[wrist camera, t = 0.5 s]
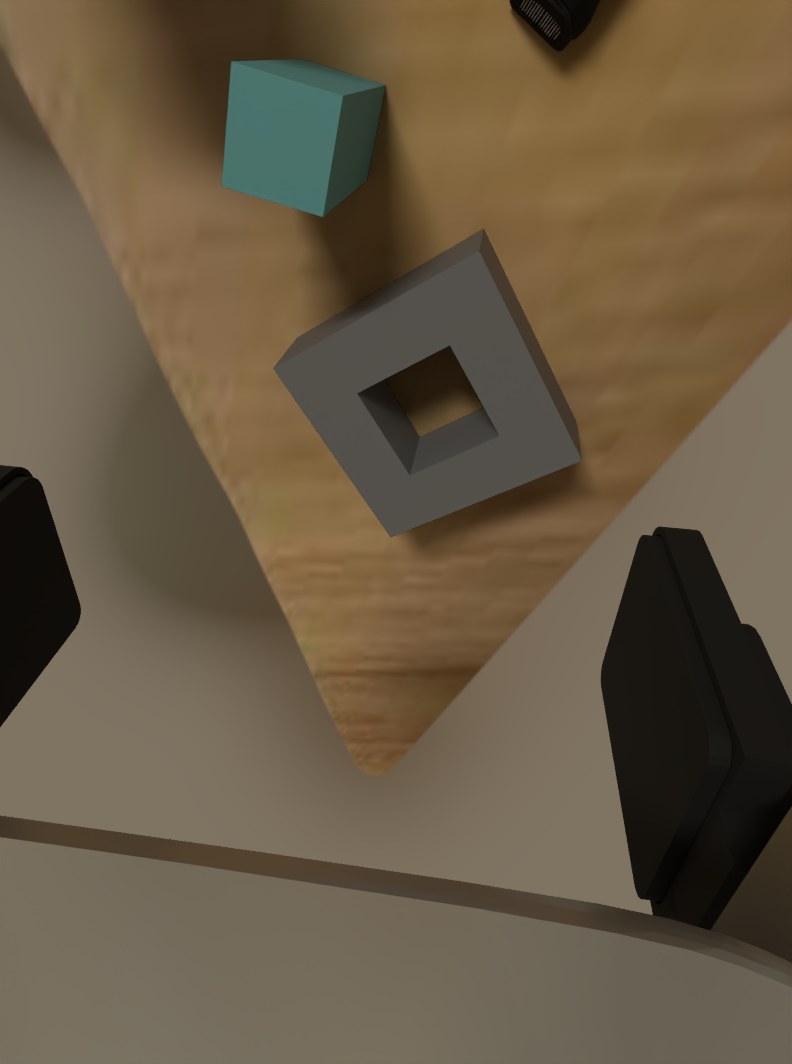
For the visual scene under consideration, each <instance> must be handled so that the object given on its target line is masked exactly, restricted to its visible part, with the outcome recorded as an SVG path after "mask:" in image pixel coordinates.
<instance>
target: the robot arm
mask: <svg viewBox="0 0 792 1064" xmlns="http://www.w3.org/2000/svg"><path fill="white" fill-rule="evenodd" d="M80 614H81V607H80V603H79V599H78V596H77V593H76V590H75V587H74V584H73V580H72V578H71V574H70V571H69V568H68V565H67V562H66V559H65V556H64V552H63V549H62V546H61V543H60V540H59V537H58V534H57V530H56V527H55V524H54V521H53V518H52V515H51V512H50V509H49V506H48V503H47V499H46V496H45V493H44V490H43V487H42V485H41V483H40V482H39V480H38V479H36V478H33V476H32V474H31V473H30V472H29V471H28V470H27V469H25V468H22V467H12V466H2V465H0V727H1V725H2V724H3V723H4V722H5V720H6V719H7V718H8V716H9V715H10V713H11V712H12V710H14V708H15V707H16V706H17V704H18V703H19V702H20V700H21V699H22V698H23V696H24V695H25V694H26V692H27V691H28V690H29V689H30V687H31V686H32V685H33V683H34V682H35V681H36V679H37V678H38V677H39V675H40V674H41V673H42V671H43V670H44V668H45V667H46V666H47V665H48V663H49V662H50V661H51V659H52V658H53V657H54V655H55V654H56V653H57V652H58V650H59V649H60V648H61V646H62V645H63V644H64V642H65V641H66V640H67V638H68V637H69V636H70V634H71V633H72V632H73V630H74V629H75V628H76V626H77V624H78V622H79V619H80ZM601 688H602V694H603V700H604V705H605V712H606V718H607V724H608V730H609V736H610V742H611V748H612V753H613V759H614V765H615V771H616V777H617V783H618V789H619V795H620V801H621V807H622V813H623V819H624V825H625V831H626V837H627V843H628V849H629V855H630V861H631V867H632V873H633V878H634V884H635V889H636V892H637V895H638V897H639V898H640V899H646V900H650V901H651V907H652V912H653V915H649V914H644V913H639V912H634V911H630V910H625V909H620V908H616V907H611V906H606V905H601V904H596V903H590V902H584V901H578V900H571V899H566V898H560V897H553V896H547V895H541V894H535V893H529V892H522V891H516V890H510V889H504V888H498V887H492V886H486V885H480V884H474V883H467V882H461V881H454V880H448V879H441V878H434V877H427V876H420V875H413V874H407V873H400V872H393V871H386V870H379V869H372V868H365V867H359V866H351V865H345V864H338V863H331V862H324V861H318V860H311V859H304V858H297V857H290V856H283V855H276V854H269V853H263V852H256V851H249V850H242V849H234V848H228V847H221V846H213V845H207V844H199V843H192V842H185V841H178V840H171V839H163V838H156V837H150V836H143V835H136V834H128V833H121V832H114V831H106V830H100V829H93V828H85V827H78V826H71V825H64V824H56V823H50V822H43V821H35V820H28V819H21V818H13V817H6V816H0V1064H792V704H791V702H790V700H789V697H788V695H787V693H786V691H785V689H784V687H783V685H782V682H781V680H780V678H779V676H778V674H777V672H776V670H775V667H774V665H773V663H772V661H771V659H770V657H769V654H768V652H767V650H766V648H765V646H764V644H763V642H762V639H761V637H760V636H759V634H758V632H757V631H756V629H755V628H753V627H752V626H750V625H748V624H741V622H740V620H739V617H738V615H737V613H736V611H735V609H734V606H733V604H732V601H731V599H730V597H729V595H728V592H727V590H726V588H725V586H724V583H723V581H722V579H721V576H720V574H719V572H718V570H717V567H716V565H715V563H714V561H713V558H712V556H711V554H710V551H709V549H708V547H707V545H706V542H705V540H704V538H703V536H702V534H701V533H700V531H697V530H690V529H680V528H668V527H657V528H656V529H655V531H654V532H653V535H652V536H650V535H642V536H641V537H640V539H639V542H638V545H637V548H636V551H635V555H634V558H633V562H632V565H631V568H630V572H629V575H628V579H627V582H626V585H625V589H624V592H623V596H622V599H621V602H620V606H619V609H618V612H617V616H616V619H615V623H614V626H613V629H612V633H611V636H610V639H609V643H608V646H607V650H606V653H605V656H604V660H603V664H602V670H601Z"/></svg>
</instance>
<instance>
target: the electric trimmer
mask: <svg viewBox="0 0 792 1064" xmlns="http://www.w3.org/2000/svg"><path fill="white" fill-rule="evenodd" d="M599 2H600V0H510V4H511V7H512V8H513V9H514V10H515V11H516V12H517V13H518V14H519V15H520V16H521V17H522V18H523V19H524V20H525V21H526V22H527V23H528V24H529V25H530V26H531V27H532V28H533V29H534V30H535V31H536V32H537V33H538V34H539V35H540V36H541V37H542V38H543V39H544V40H545V41H546V42H547V43H548V44H549V45H550V46H552V47H553V48H554V49H555V50H557V51H562V50H563V49H564V48H565V46H566V45H567V44H568V43H569V42H570V40H573V39H576V38H577V37H578V36H579V35H580V34H581V33H582V32H583V31H584V30H585V28H586V27H587V26H588V24H589V23H590V21H591V19H592V17H593V14H594V12H595V10H596V8H597V6H598V3H599Z"/></svg>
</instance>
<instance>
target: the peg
mask: <svg viewBox="0 0 792 1064" xmlns="http://www.w3.org/2000/svg"><path fill="white" fill-rule="evenodd" d="M385 86H386V85H384V84H380V83H377V82H374V81H371V80H368V79H364V78H361V77H358V76H355V75H351V74H348V73H345V72H342V71H338V70H335V69H332V68H329V67H326V66H322V65H319V64H316V63H313V62H309V61H306V60H303V59H285V60H256V61H231V72H230V85H229V98H228V111H227V124H226V137H225V150H224V163H223V176H222V187H226V188H229V189H232V190H236V191H239V192H242V193H245V194H249V195H252V196H255V197H259V198H262V199H265V200H268V201H272V202H275V203H278V204H282V205H285V206H288V207H291V208H295V209H298V210H301V211H305V212H308V213H311V214H314V215H318V216H321V217H324V216H325V215H326V214H327V213H328V212H330V211H331V210H332V209H333V208H334V207H336V206H337V205H338V204H339V203H340V202H341V201H343V200H344V199H345V198H346V197H347V196H349V195H350V194H351V193H352V192H353V191H355V190H356V189H357V188H358V187H359V186H361V185H362V184H363V183H364V182H365V181H367V178H368V173H369V167H370V162H371V157H372V152H373V147H374V142H375V137H376V132H377V127H378V122H379V117H380V112H381V107H382V102H383V96H384V91H385Z"/></svg>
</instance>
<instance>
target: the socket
mask: <svg viewBox="0 0 792 1064" xmlns="http://www.w3.org/2000/svg"><path fill="white" fill-rule="evenodd" d="M448 346H450V347H451V348H452V350H453V352H454V354H455V356H456V357H457V359H458V361H459V363H460V365H461V367H462V368H463V370H464V372H465V374H466V376H467V378H468V379H469V381H470V383H471V385H472V387H473V388H474V390H475V392H476V394H477V396H478V398H479V399H480V401H481V403H482V405H483V407H484V408H482V409H480V410H478V411H475V412H473V413H471V414H469V415H467V416H465V417H463V418H460V419H458V420H456V421H454V422H452V423H450V424H447V425H445V426H443V427H441V428H439V429H437V430H434V431H432V432H430V433H428V434H426V435H424V436H422V437H419V435H418V434H417V432H416V430H415V429H414V427H413V425H412V424H411V422H410V421H409V419H408V417H407V416H406V414H405V412H404V411H403V409H402V408H401V406H400V404H399V403H398V401H397V399H396V398H395V396H394V394H393V393H392V391H391V390H390V388H389V386H388V385H387V383H386V381H385V380H384V379H386V378H388V377H390V376H392V375H394V374H395V373H397V372H399V371H401V370H403V369H405V368H407V367H409V366H411V365H413V364H415V363H417V362H419V361H421V360H423V359H424V358H426V357H428V356H430V355H432V354H434V353H436V352H438V351H440V350H442V349H444V348H446V347H448ZM273 369H274V370H275V372H276V373H277V375H278V376H279V378H280V379H281V380H282V382H283V383H284V385H285V386H286V388H287V389H288V390H289V392H290V393H291V395H292V396H293V398H294V399H295V401H296V402H297V403H298V405H299V406H300V408H301V409H302V411H303V412H304V413H305V415H306V416H307V418H308V419H309V421H310V422H311V424H312V425H313V426H314V428H315V429H316V431H317V432H318V434H319V435H320V436H321V438H322V439H323V441H324V442H325V444H326V445H327V447H328V448H329V449H330V451H331V452H332V454H333V455H334V457H335V458H336V459H337V461H338V462H339V464H340V465H341V467H342V468H343V470H344V471H345V472H346V474H347V475H348V477H349V478H350V480H351V481H352V482H353V484H354V485H355V487H356V488H357V490H358V491H359V493H360V494H361V495H362V497H363V498H364V500H365V501H366V503H367V504H368V505H369V507H370V508H371V510H372V511H373V513H374V514H375V516H376V517H377V518H378V520H379V521H380V523H381V524H382V526H383V527H384V528H385V530H386V531H387V533H388V534H389V536H390V537H393V536H395V535H398V534H400V533H403V532H405V531H408V530H410V529H413V528H415V527H418V526H420V525H423V524H425V523H428V522H430V521H433V520H435V519H438V518H440V517H443V516H445V515H448V514H450V513H453V512H455V511H458V510H460V509H463V508H465V507H468V506H470V505H473V504H475V503H478V502H480V501H483V500H485V499H488V498H490V497H493V496H495V495H498V494H500V493H503V492H505V491H508V490H510V489H513V488H515V487H518V486H520V485H523V484H525V483H528V482H530V481H532V480H535V479H537V478H540V477H542V476H545V475H547V474H550V473H552V472H555V471H557V470H560V469H562V468H565V467H567V466H570V465H572V464H575V463H577V462H580V461H582V457H581V450H580V443H579V437H578V430H577V423H576V420H575V418H574V416H573V414H572V412H571V410H570V408H569V405H568V403H567V401H566V399H565V397H564V395H563V393H562V391H561V389H560V387H559V385H558V383H557V380H556V378H555V376H554V374H553V372H552V370H551V368H550V366H549V364H548V362H547V360H546V358H545V355H544V353H543V351H542V349H541V347H540V345H539V343H538V341H537V339H536V337H535V335H534V333H533V330H532V328H531V326H530V324H529V322H528V320H527V318H526V316H525V314H524V312H523V310H522V308H521V305H520V303H519V301H518V299H517V297H516V295H515V293H514V291H513V289H512V287H511V285H510V283H509V280H508V278H507V276H506V274H505V272H504V270H503V268H502V266H501V264H500V262H499V260H498V257H497V255H496V253H495V251H494V249H493V247H492V245H491V243H490V241H489V239H488V237H487V235H486V232H485V230H484V229H482V230H481V231H479V232H477V233H476V234H474V235H472V236H470V237H469V238H467V239H465V240H464V241H462V242H460V243H458V244H457V245H455V246H453V247H452V248H450V249H448V250H447V251H445V252H443V253H441V254H440V255H438V256H436V257H435V258H433V259H431V260H429V261H428V262H426V263H424V264H423V265H421V266H419V267H417V268H416V269H414V270H412V271H411V272H409V273H407V274H405V275H404V276H402V277H400V278H399V279H397V280H395V281H394V282H392V283H390V284H388V285H387V286H385V287H383V288H382V289H380V290H378V291H376V292H375V293H373V294H371V295H370V296H368V297H366V298H364V299H363V300H361V301H359V302H358V303H356V304H354V305H353V306H351V307H349V308H347V309H346V310H344V311H342V312H341V313H339V314H337V315H335V316H334V317H332V318H330V319H329V320H327V321H325V322H323V323H322V324H320V325H318V326H317V327H315V328H313V329H311V330H310V331H308V332H306V333H305V334H303V335H301V336H300V337H298V338H297V339H296V340H295V341H294V342H293V344H292V345H291V346H290V348H289V349H288V350H287V351H286V353H285V354H284V355H283V356H282V358H281V359H280V360H279V362H278V363H277V364H276V365H275V367H274V368H273Z"/></svg>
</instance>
